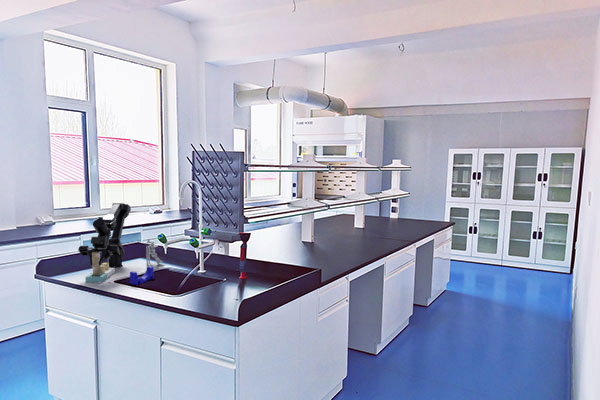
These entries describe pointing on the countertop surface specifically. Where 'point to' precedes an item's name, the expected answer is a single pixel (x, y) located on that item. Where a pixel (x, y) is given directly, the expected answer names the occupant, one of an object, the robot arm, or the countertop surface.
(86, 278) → the pin board
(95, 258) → the birch pin
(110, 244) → the robot arm
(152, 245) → the clamp
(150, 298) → the countertop surface
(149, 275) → the blue saddle block
